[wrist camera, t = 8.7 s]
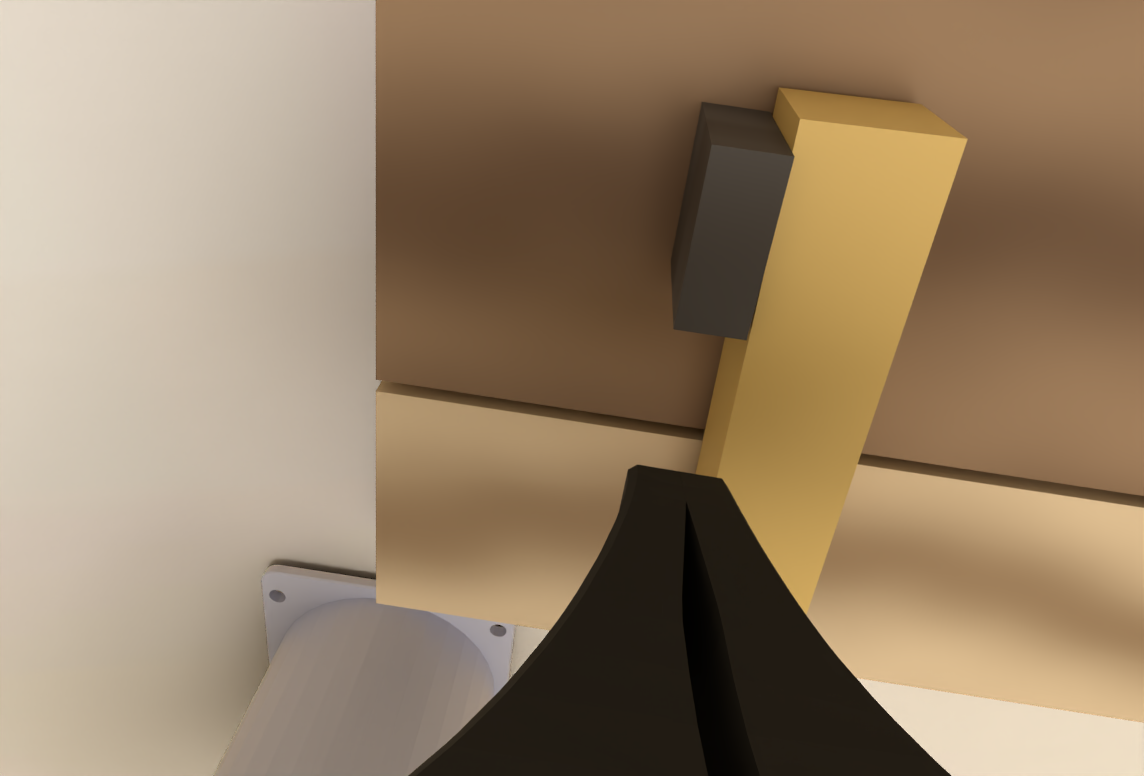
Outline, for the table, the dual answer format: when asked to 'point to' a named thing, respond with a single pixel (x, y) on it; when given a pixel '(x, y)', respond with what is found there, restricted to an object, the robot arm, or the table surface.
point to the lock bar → (826, 317)
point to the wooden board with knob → (727, 302)
